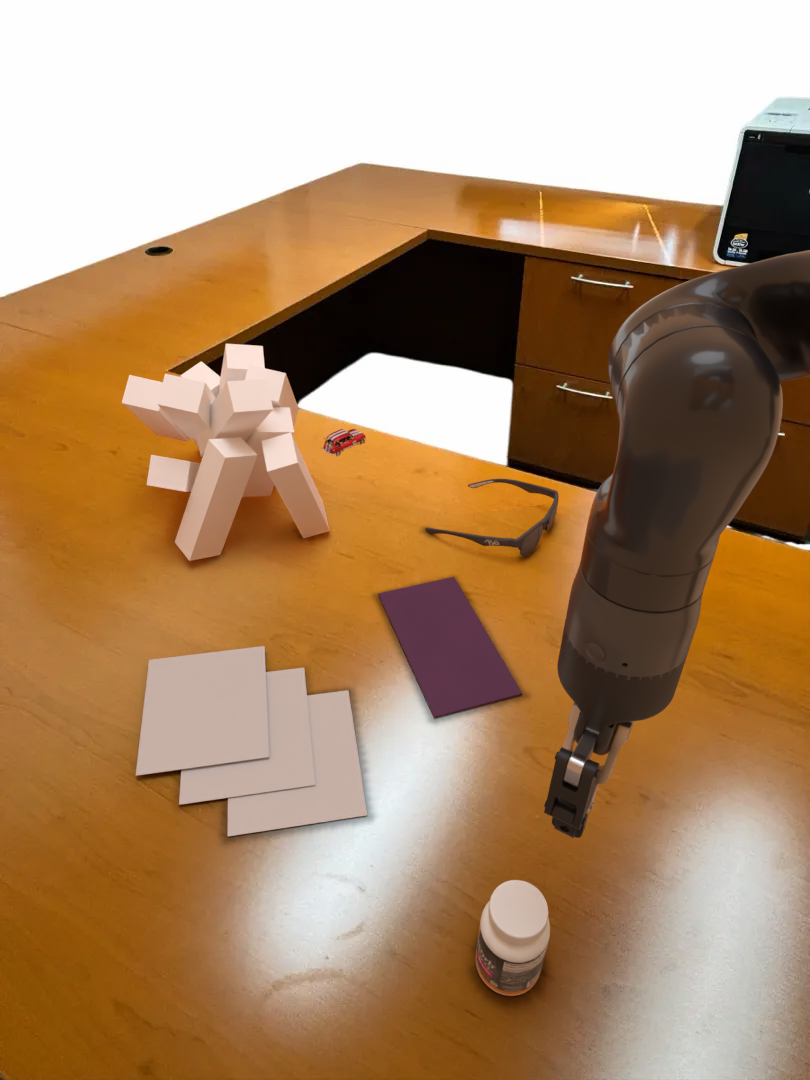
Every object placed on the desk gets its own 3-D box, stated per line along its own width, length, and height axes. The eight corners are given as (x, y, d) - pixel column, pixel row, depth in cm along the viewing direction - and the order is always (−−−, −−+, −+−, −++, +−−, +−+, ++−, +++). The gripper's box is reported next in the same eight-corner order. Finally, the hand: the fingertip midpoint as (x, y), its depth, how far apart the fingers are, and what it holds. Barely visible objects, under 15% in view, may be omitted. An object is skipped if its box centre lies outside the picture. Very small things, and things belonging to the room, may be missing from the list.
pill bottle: (466, 938, 69) (473, 881, 63) (527, 923, 70) (539, 865, 64) (486, 1006, 65) (495, 951, 58) (551, 989, 66) (566, 934, 59)
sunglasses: (524, 573, 108) (523, 544, 105) (421, 545, 116) (418, 517, 113) (569, 514, 119) (570, 486, 116) (472, 492, 127) (471, 465, 124)
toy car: (368, 443, 136) (367, 427, 134) (332, 459, 131) (331, 443, 130) (354, 435, 138) (354, 419, 136) (319, 451, 134) (318, 435, 132)
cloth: (522, 695, 91) (522, 693, 91) (434, 718, 88) (434, 716, 88) (453, 578, 107) (454, 576, 107) (377, 595, 105) (377, 593, 104)
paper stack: (340, 640, 98) (340, 636, 97) (367, 815, 78) (367, 811, 78) (150, 663, 95) (149, 659, 94) (128, 852, 75) (126, 848, 75)
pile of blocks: (111, 513, 128) (6, 392, 96) (234, 392, 137) (176, 244, 105) (267, 638, 119) (209, 549, 87) (388, 499, 128) (376, 373, 96)
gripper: (654, 734, 41) (605, 888, 51) (716, 582, 51) (664, 737, 61) (524, 679, 44) (501, 836, 54) (606, 546, 54) (574, 699, 64)
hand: (588, 783), depth 58 cm, fingers open, 8 cm apart
